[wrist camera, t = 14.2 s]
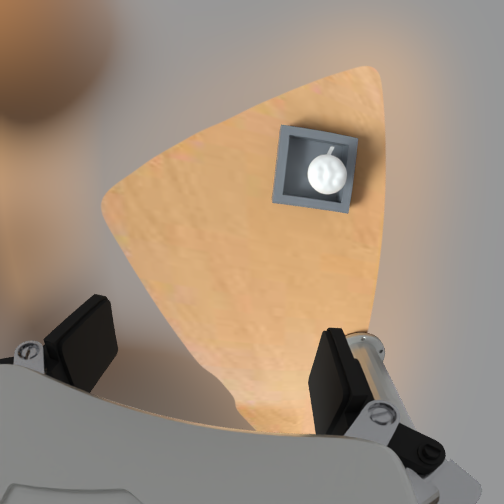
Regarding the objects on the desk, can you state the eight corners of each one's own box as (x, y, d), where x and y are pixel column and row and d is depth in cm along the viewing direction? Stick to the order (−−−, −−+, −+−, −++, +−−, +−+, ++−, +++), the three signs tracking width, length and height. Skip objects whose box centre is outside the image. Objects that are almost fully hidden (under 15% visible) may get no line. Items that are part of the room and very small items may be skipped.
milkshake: (331, 153, 36) (353, 149, 26) (329, 190, 37) (349, 197, 28) (300, 150, 36) (311, 144, 26) (298, 187, 38) (309, 194, 28)
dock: (341, 209, 39) (348, 213, 35) (271, 199, 39) (272, 202, 35) (350, 140, 36) (358, 138, 32) (279, 128, 36) (281, 124, 32)
